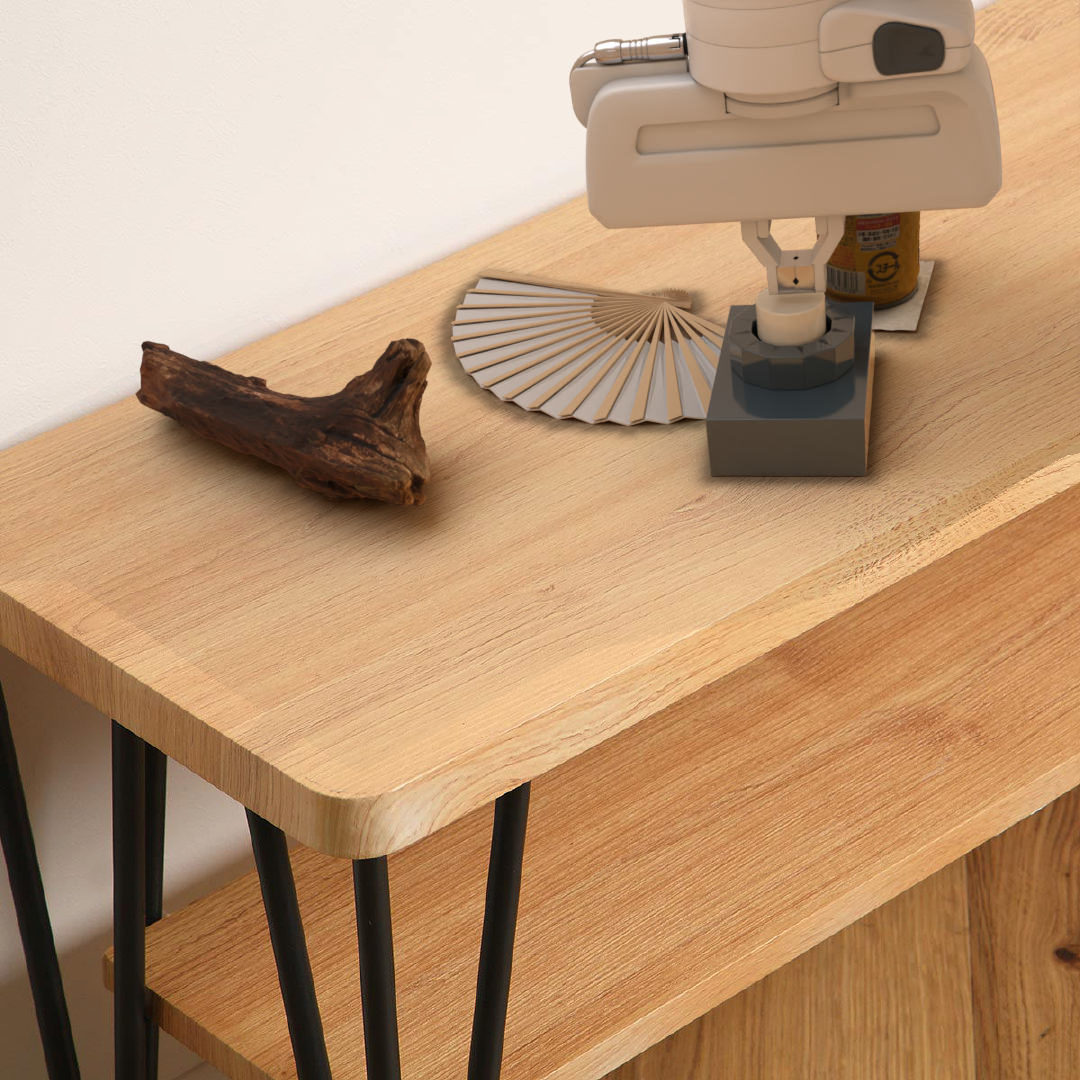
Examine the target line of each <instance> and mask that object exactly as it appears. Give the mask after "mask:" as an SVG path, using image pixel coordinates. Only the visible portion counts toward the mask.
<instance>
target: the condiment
mask: <svg viewBox="0 0 1080 1080" xmlns="http://www.w3.org/2000/svg"><path fill="white" fill-rule="evenodd" d="M920 222H921V211H914V212H897V213H880V214H862V215H846V217H845V228H844V235H843V236H842V238H841V240H840V241H839V243H838V245H837V247H836V248H835V250H834V252H833V253H832V255H831V257H830V258H829V260H828V262H827V263H826V267H827V285H826V292H824V294H825V299H828V300H832V301H836V302H839V303H846V302H874V330H884V331H891V332H892V331H916V330H917V326H918V322H919V320H920V315H921V312H922V308H923V305H924V302H925V299H926V298H925V297H926V295H927V293H928V289H929V284H930V281H931V279H932V274H933V271H934V266H935V260H931V261H930V260H929V261H927V260H920V253H921V252H920V251H921V249H920V233H921V231H920V230H921V223H920ZM819 236H820V235H818V234H817V233H816V240H817V239H818V238H819Z"/></svg>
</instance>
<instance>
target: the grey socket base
mask: <svg viewBox="0 0 1080 1080" xmlns="http://www.w3.org/2000/svg"><path fill="white" fill-rule="evenodd" d="M825 306H826V332H825V334H824V336H823V337H822V338H820V339H819V340H816V341H813V342H810V343H806V344H803V345H800V346H776V345H773V344H769V343H766V342H762V341H761V340H760V338H759V337H758V333H757V319H756V304H755V303H753V304H731V305H730V306H729V311H728V316H727V320H726V325H725V333H724V338H723V342H722V347H721V352H720V356H719V361H718V365H717V370H716V375H715V379H714V384H713V388H712V393H711V397H710V402H709V407H708V411H707V416H706V419H705V429H706V440H707V441H706V443H707V451H708V462H709V473H710V476H712V477H718V476H719V477H720V476H721V477H723V476H724V477H730V476H731V477H732V476H733V477H741V476H742V477H753V476H754V477H857V476H858V477H865V476H867V465H868V454H869V453H868V452H869V441H870V440H869V438H870V429H871V428H870V426H871V413H872V412H871V411H872V399H873V385H874V372H875V360H876V359H875V358H876V343H875V342H876V341H875V339H876V337H875V336H876V335H875V329H874V302H846V303H839V302H836V301H832V300H828V299H825Z"/></svg>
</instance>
